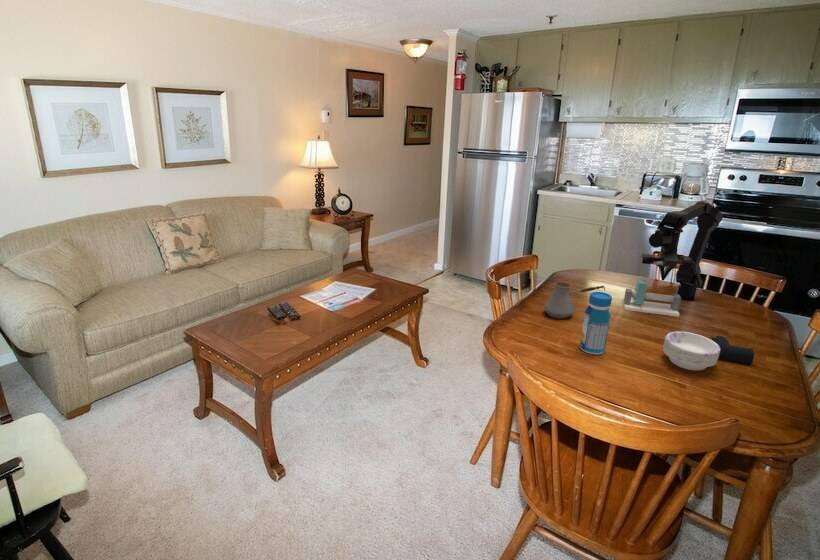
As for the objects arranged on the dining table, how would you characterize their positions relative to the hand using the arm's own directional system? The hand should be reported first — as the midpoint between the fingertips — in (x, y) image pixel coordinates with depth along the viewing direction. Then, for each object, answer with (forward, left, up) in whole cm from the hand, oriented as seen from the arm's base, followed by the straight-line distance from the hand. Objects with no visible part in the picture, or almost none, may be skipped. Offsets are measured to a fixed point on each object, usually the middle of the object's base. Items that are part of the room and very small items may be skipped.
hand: (662, 280), depth 188 cm
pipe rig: (+4, +5, -12) cm, 13 cm away
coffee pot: (+35, +26, -12) cm, 45 cm away
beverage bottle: (+28, +52, -12) cm, 60 cm away
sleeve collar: (+8, +5, -9) cm, 13 cm away
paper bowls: (-1, +51, -12) cm, 52 cm away
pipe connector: (-13, +39, -12) cm, 43 cm away
